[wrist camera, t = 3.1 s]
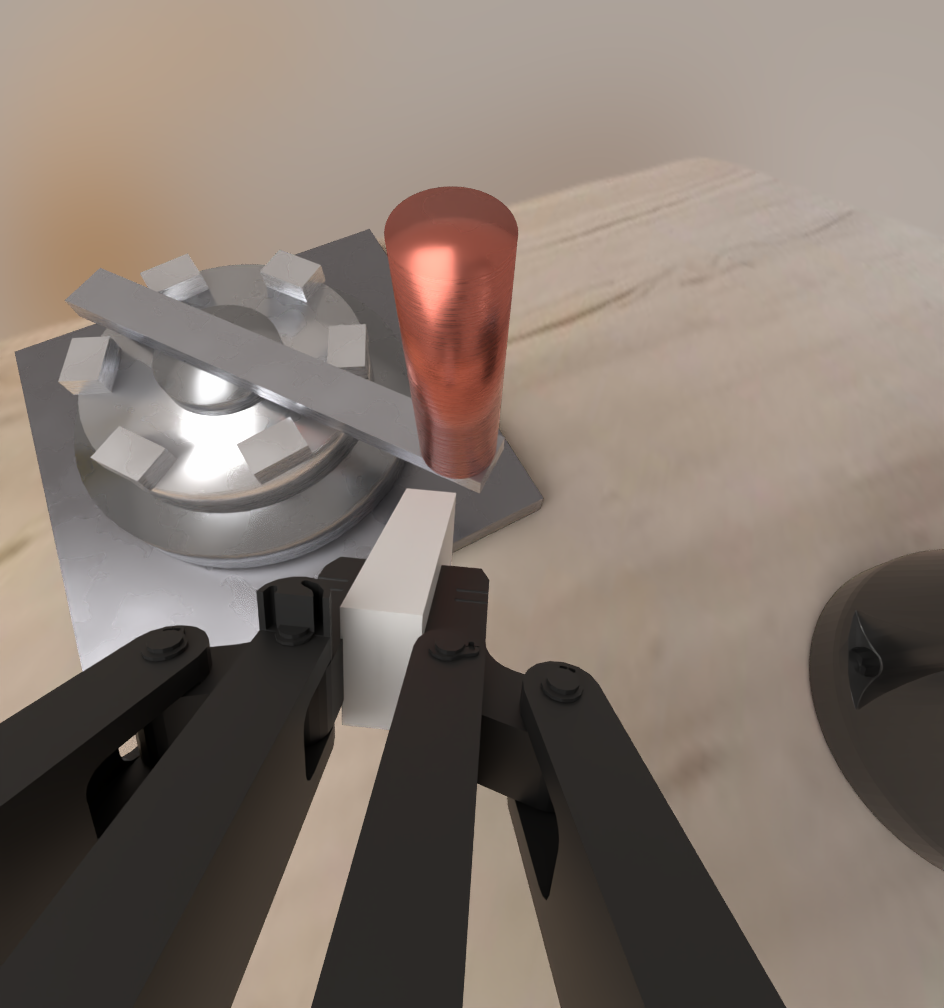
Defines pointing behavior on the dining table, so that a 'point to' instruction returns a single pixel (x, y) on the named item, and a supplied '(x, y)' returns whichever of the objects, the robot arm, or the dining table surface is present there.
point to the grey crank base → (243, 535)
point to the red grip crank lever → (299, 364)
